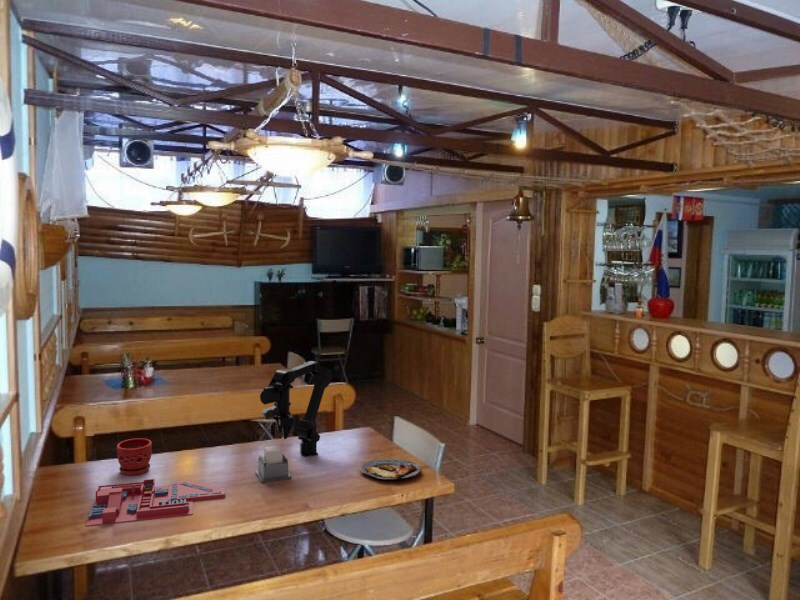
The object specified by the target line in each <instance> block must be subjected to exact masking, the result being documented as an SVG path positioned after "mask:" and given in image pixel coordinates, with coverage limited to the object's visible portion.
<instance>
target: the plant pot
mask: <svg viewBox="0 0 800 600" xmlns="http://www.w3.org/2000/svg"><path fill="white" fill-rule="evenodd" d="M129 446H131V447H129ZM135 447H136V448H135ZM152 447H153V445H152V440H150V439H148V438H142V437H140V438H139V437H138V438H130V439H125V440H122V441H120V442H119V443H118V444H117V445H116V457H117V460H118V464H119V465H120V466H119V468H118V469H119V472H120V473H122V474H123V475H128V476H134V475H135V476H136V475H141V474H143V473H145V472H148V471H149V469H150V468H151V463H150V461H151V458H152V453H153V451H152Z"/></svg>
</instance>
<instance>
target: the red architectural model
mask: <svg viewBox="0 0 800 600" xmlns="http://www.w3.org/2000/svg"><path fill="white" fill-rule="evenodd" d="M224 498H225V499H226V489H225V488H224V487H220V486H216V485H210V484H205V483H200V482H196V481H192V480H181V481H171V482H169V484H167V485H156V482H155V478H151V479H143V481H137V482H128V483H127V482H126V483H118V484H117V483H115V484H105V485H103V484H102V485H98V486H97V490H96V491H95V502H94V504H93V505H92V507H91V510H90V512H89V515H88V520H87V522H86V524H85V526H86V527H92V526H93V527H94V526H101V525H110V524H111V525H113V524H120V523H130V522H131V523H132V522H139V521H148V520H156V519H167V518H176V517H184V516H193V515H194V502H195V501H206V500H213V499H224Z"/></svg>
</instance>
